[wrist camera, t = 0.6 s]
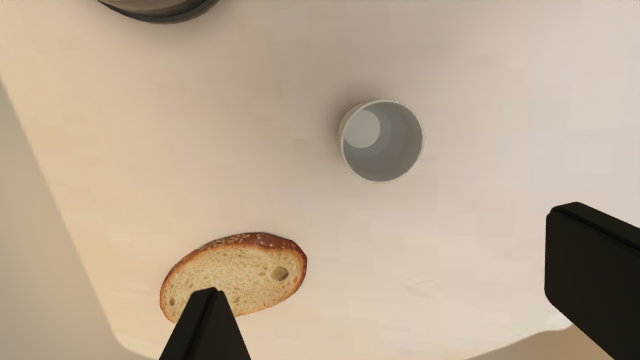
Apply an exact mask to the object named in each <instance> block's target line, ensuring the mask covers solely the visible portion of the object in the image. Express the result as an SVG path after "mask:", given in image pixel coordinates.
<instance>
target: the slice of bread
mask: <svg viewBox="0 0 640 360" xmlns="http://www.w3.org/2000/svg"><path fill="white" fill-rule="evenodd" d="M306 267H307V257H306V255H305V253H304V252H303V251H302V250H301V248H300V247H299V246H298V245H297V244H296V243H295V242H294V241H292V240H285V239H281V238H277V237H274V236H271V235H268V234H262V233H244V234H240V235H233V236H229V237H225V238H221V239H219V240H214V241H212V242H210V243H209V244H207V245H205V246H204V247H203V248H201V249H197V250H194V251H192V252H191V253H189V254H188V255H186V256H185V257H183V258H182V259H181V260H180V261H179V262H178V263H177V264H176V265H175V266H174V267H173V268H172V269H171V270H170V272H169V273H168V275H167V276H166V278H165V280H164V282H163V284H162V287H161V291H160V308H161V310H162V311H163V313H164V314H165V317H166V318H167V319H168V320H170V321H171V322H174V323H176V324H177V322H178V320H179V318H180V316H181V314H182V312H183V310H184V308H185V306H186V304H187V302H188V300H189V298H190V296H191V294H192V293H193V292H194V291H197V290H201V289H205V288H210V287H216V288H217V290H218V291H220V290H222V291H223V292H224V293H225V295H226V298H227V300H228V303H229V305H230V308H231V310H232V313H233V315H234V317H237V316H240V315H245V314H249V313H253V312H257V311H260V310H263V309H265V308H268V307H272V306H274V305H276V304H278V303H280V302H282V301H284V300H286V299H287V298H289V297H290V296H291V295H293V294H294V293H295V292H296V291H297V290H298V289H299V287H300V286H301V284H302V282H303V280H304V278H305V274H306Z"/></svg>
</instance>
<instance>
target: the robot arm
mask: <svg viewBox="0 0 640 360" xmlns="http://www.w3.org/2000/svg"><path fill="white" fill-rule="evenodd" d="M544 290H545V295H546V297H547V299H548V300H549V302H550V303H551V304H552V305H553V306H554V307H555V308H557V309H558V310H559V311H560V312H561V313H562V314H563V315H564V316H566V317H567V318H568V319H569V320H570V321H571V322H572V323H574V324H575V325H576V326H577V327H578V328H579V329H580V330H581V331H583V332H584V333H585V334H586V335H587V336H589V338H591V339H592V340H593V341H594V342H595V343H596V344H597V345H598V346H600V347H601V348H602V349H603V350H604V351H605V352H606V353H607V354H609V355H610V356H611V357H612V358H613V359H614V360H640V228H638V227H635V226H633V225H631V224H628V223H626V222H624V221H622V220H619V219H617V218H615V217H612V216H610V215H608V214H605V213H603V212H601V211H599V210H596V209H594V208H592V207H589V206H587V205H585V204H583V203H580V202H572V203H568V204H564V205H559V206H555V207H553V208H552V209H551V211H550V213H549V214H548V215H547V217H546V244H545V285H544ZM159 360H251V358H250V355H249V353H248V350H247V348H246V345H245V343H244V340H243V338H242V335H241V333H240V330H239V328H238V325H237V323H236V320H235V318H234V315H233V313H232V310H231V308H230V305H229V303H228V300H227V298H226V295H225V293H224V292H223V291H222V290H220V291H218V290H217V288H216V287H210V288H205V289H201V290H197V291H194V292H193V293H192V294H191V296H190V298H189V300H188V302H187V304H186V306H185V308H184V310H183V312H182V314H181V316H180V318H179V320H178V322H177V324H176V326H175V328H174V330H173V332H172V334H171V336H170V338H169V340H168V342H167V344H166V346H165V348H164V350H163V352H162V354H161V357H160V358H159Z"/></svg>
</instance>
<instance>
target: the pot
mask: <svg viewBox="0 0 640 360" xmlns="http://www.w3.org/2000/svg"><path fill="white" fill-rule="evenodd" d="M98 1H99V2H101V3H102V4H104V5H105V6H107V7H109V8H110V9H112V10H114V11H116V12H118V13H120V14H123V15H125V16H127V17H130V18H133V19H136V20H139V21H143V22H148V23H153V24H174V23H180V22H184V21H188V20H190V19H193V18H195V17H198V16H199V15H201V14H203V13H204V12H206V11H208V10H209V9H210V8H211V7H213V6H214V5H215V4H216V3H217V2H218V1H219V0H98Z"/></svg>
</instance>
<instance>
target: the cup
mask: <svg viewBox="0 0 640 360" xmlns="http://www.w3.org/2000/svg"><path fill="white" fill-rule="evenodd" d="M338 145H339V149H340V151H341V154H342V156H343V159H344V161H345V163H346V165H347V167H348V168H349V170H350V171H351V172H352V173H353V174H354V175H356V176H357V177H358V178H360V179H362V180H364V181H367V182H370V183H376V184H383V183H389V182H393V181H395V180H398V179H400V178H402V177H403V176H405V175H406V174H407V173H409V172H410V171H411V170H412V169H413V167H414V166H415V165H416V164H417V162H418V160H419V158H420V156H421V154H422V151H423V147H424V130H423V126H422V123H421V121H420V119H419V117H418V116H417V114H416V113H415V112H414V111H413V110H412V109H411V108H410V107H408V106H407V105H405V104H403V103H401V102H399V101H395V100H389V99H382V100H370V101H365V102H362V103H360V104H358V105H356V106H354V107H353V108H352V109H350V110H349V111H348V112H347V113H346V114H345V115H344V117H343V118H342V120H341V122H340V125H339V130H338Z"/></svg>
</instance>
